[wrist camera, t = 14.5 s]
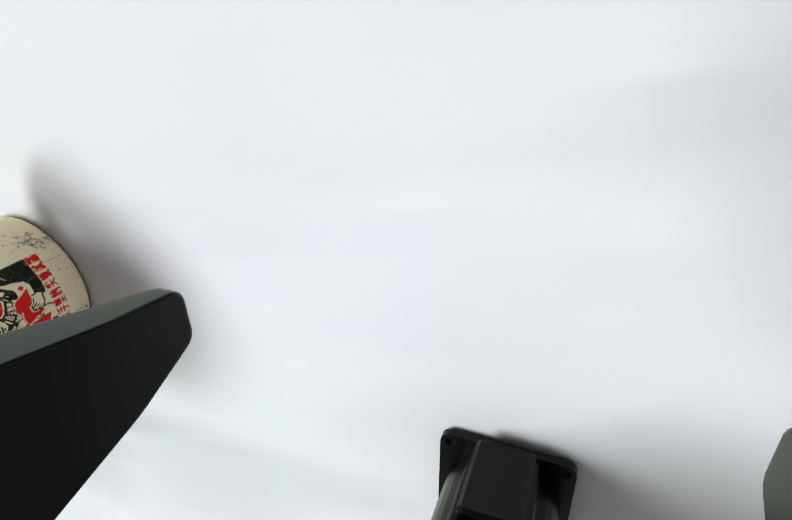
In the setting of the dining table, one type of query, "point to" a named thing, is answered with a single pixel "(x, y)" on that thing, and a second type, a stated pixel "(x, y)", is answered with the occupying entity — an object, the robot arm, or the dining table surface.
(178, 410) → the dining table surface
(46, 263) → the teacup with lid
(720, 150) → the dining table surface
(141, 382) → the robot arm
